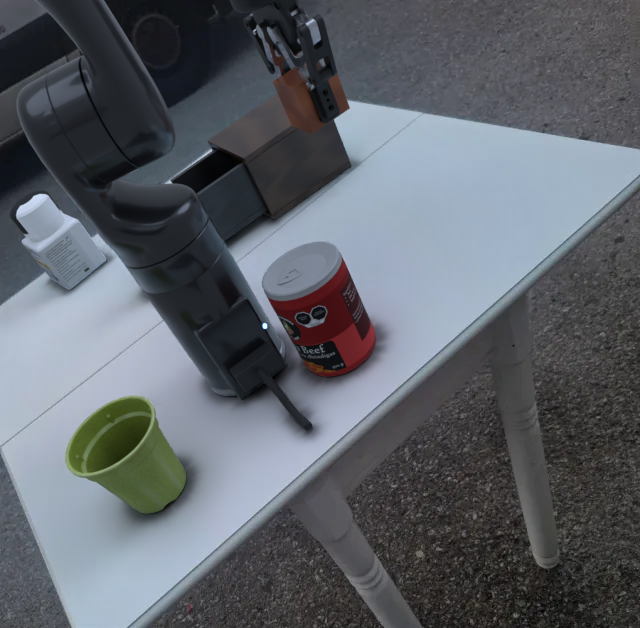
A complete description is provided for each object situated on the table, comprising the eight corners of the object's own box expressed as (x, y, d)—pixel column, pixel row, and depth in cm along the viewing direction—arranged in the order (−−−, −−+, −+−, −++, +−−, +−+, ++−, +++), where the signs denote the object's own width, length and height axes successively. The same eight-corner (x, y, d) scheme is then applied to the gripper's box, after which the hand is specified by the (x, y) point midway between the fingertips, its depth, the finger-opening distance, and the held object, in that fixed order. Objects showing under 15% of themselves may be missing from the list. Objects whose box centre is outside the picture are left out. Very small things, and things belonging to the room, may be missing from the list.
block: (350, 108, 75) (333, 61, 72) (312, 134, 74) (293, 88, 71) (327, 101, 79) (310, 56, 75) (291, 125, 78) (272, 81, 75)
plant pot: (105, 533, 69) (48, 480, 63) (136, 457, 75) (87, 402, 69) (186, 526, 65) (133, 469, 59) (212, 446, 71) (167, 388, 65)
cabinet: (275, 220, 97) (243, 158, 91) (237, 198, 107) (206, 140, 100) (352, 165, 99) (326, 100, 93) (308, 148, 108) (283, 88, 102)
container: (51, 280, 113) (-4, 211, 105) (88, 250, 115) (37, 181, 107) (69, 291, 108) (12, 220, 99) (108, 260, 110) (55, 187, 101)
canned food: (292, 364, 75) (246, 283, 67) (345, 316, 77) (305, 233, 69) (337, 389, 69) (292, 305, 62) (393, 337, 71) (355, 249, 64)
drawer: (185, 274, 95) (154, 226, 90) (157, 249, 104) (128, 204, 98) (283, 204, 98) (259, 153, 92) (249, 185, 106) (224, 138, 101)
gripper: (188, -39, 70) (262, 122, 81) (246, -38, 59) (322, 146, 70) (249, -78, 70) (314, 87, 82) (318, -84, 60) (381, 106, 71)
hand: (318, 113), depth 76 cm, fingers closed on block, 5 cm apart
